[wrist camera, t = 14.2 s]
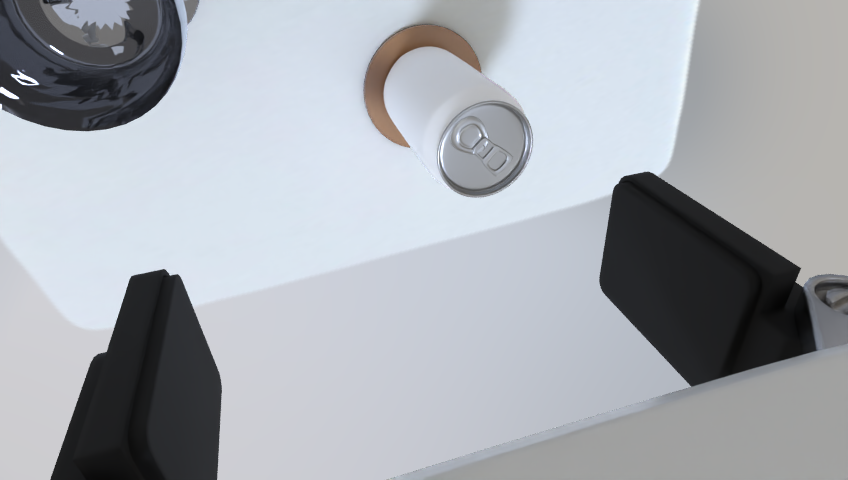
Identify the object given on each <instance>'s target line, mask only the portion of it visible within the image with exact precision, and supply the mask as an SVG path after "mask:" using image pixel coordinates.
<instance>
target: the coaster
mask: <svg viewBox="0 0 848 480" xmlns="http://www.w3.org/2000/svg"><path fill="white" fill-rule="evenodd" d="M429 46H430V47H438V48H442V49H444V50H447V51H448V52H450V53H452V54H453V55H455V56H457V57H458V58H460V59H461V60H463V61H464V62H466V63H467V64H469V65H470V66H472V67H473V68H474V69H476V70H477V71H479V72H480V73H481V68H480V64H479V61H478V59H477V57H476V54H475V52H474V51H473V49H472V48H471V46H470V45H469V44H468V43H467V42H466V41H465V40H464V39H463V38H462V37H461V36H459V35H458V34H456V33H455V32H453V31H451V30H449V29H447V28H444V27H441V26H437V25H417V26H412V27H409V28H406V29H404V30H402V31H400V32H398V33H396V34H394V35H393V36H391V37H390V38H389V39H388V40H387V41H385V42H384V43H383V44H382V45H381V47H380V48H379V49H378V50H377V52H376V53H375V55H374V56H373V58H372V60H371V62H370V64H369V66H368V69H367V72H366V76H365V81H364V100H365V105H366V109H367V112H368V114H369V116H370V118H371V120H372V122H373V123H374V125H375V126H376V128H377V129H378V130H379V131H380V132H381V133H382V134H383V135H384V136H385V137H386V138H388V139H389V140H391V141H392V142H394V143H396V144H399V145H401V146H405V147H409V148H411V147H410V146H409V144H408V143H407V141H406V140H405V139H404V137H403V136H402V134H401V133H400V131H399V130H398V128H397V127H396V126H395V124H394V123H393V121H392V120H391V118H390V116H389V114H388V112H387V110H386V107H385V103H384V85H385V81H386V78H387V76H388V74H389V72H390V70H391V68H392V67H393V65H394V64H395V62H396V61H397V60H398V59H399V58H400V57H401V56H402V55H404V54H405V53H407V52H409V51H411V50H414V49H416V48H420V47H429Z"/></svg>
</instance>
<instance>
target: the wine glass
mask: <svg viewBox="0 0 848 480" xmlns="http://www.w3.org/2000/svg"><path fill="white" fill-rule="evenodd" d="M198 3H199V0H0V108H1V109H2V110H5V111H7V112H9V113H11V114H13V115H15V116H17V117H20V118H22V119H24V120H27V121H30V122H34V123H37V124H40V125H43V126H47V127H52V128H57V129H63V130H73V131H93V130H103V129H109V128H113V127H116V126H120V125H124V124H126V123H129V122H131V121H133V120H135V119H137V118H139V117H141V116H143V115H144V114H145V113H147V112H148V111H149V110H151V109H152V108H153V107H155V106H156V105H157V104H158V102H159V101H160V100H161V99H162V98H163V97H164V96H165V95H166V93H167V92H168V91H169V89H170V87H171V85H172V84H173V82H174V80H175V78H176V77H177V74H178V72H179V70H180V67H181V64H182V61H183V58H184V54H185V49H186V42H187V33H188V27H187V25H188V24H189V22H190V21H191V20H192V18H193V16H194V14H195V13H196V10H197V7H198Z"/></svg>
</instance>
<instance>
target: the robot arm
mask: <svg viewBox="0 0 848 480" xmlns="http://www.w3.org/2000/svg"><path fill="white" fill-rule="evenodd" d="M800 269H801V268H800V267H798V266H796V265H795V264H793V263H792V262H790V261H789V260H787V259H785V258H784V257H782V256H781V255H779V254H778V253H776V252H775V251H773V250H772V249H770V248H768V247H767V246H765V245H764V244H762V243H761V242H759V241H758V240H756V239H754V238H753V237H751V236H750V235H748V234H746V233H745V232H743V231H742V230H740V229H739V228H737V227H736V226H734V225H733V224H731V223H729V222H728V221H726V220H725V219H723V218H721V217H720V216H718V215H717V214H715V213H714V212H712V211H711V210H709V209H707V208H706V207H704V206H703V205H701V204H700V203H698V202H697V201H695V200H693V199H692V198H690V197H689V196H687V195H686V194H684V193H683V192H681V191H679V190H678V189H676V188H675V187H673V186H672V185H670V184H668V183H667V182H665V181H664V180H662V179H661V178H659V177H658V176H656V175H654V174H653V173H650V172H643V173H638V174H633V175H628V176H624V177H623V178H621V180H620V181H619V184H617V185H616V186H615V187H614V190H613V195H612V201H611V208H610V214H609V220H608V227H607V233H606V240H605V246H604V252H603V259H602V265H601V272H600V286H601V289H602V291H603V293H604V294H605V295H606V296H607V297H608V298H609V299H610V301H611V302H612V303H613V304H614V305H615V306H616V307H617V308H618V309H619V310H620V311H621V312H622V313H623V314H624V315H625V316H626V318H628V320H629V321H630V322H631V323H632V324H633V325H634V326H635V327H636V328H637V329H638V330H639V331H640V332H641V333H642V335H643V336H644V337H645V338H646V339H647V340H648V341H649V342H650V343H651V344H652V345H653V346H654V347H655V348H656V349H657V350H658V351H659V353H660V354H661V355H662V356H663V357H664V358H665V359H666V360H667V361H668V362H669V363H670V364H671V365H672V366H673V367H674V369H675V370H676V371H677V372H678V373H679V374H680V375H681V376H682V377H683V378H684V379H685V380H686V381H687V382H688V383H689V384H690V386H691V387H689V388H686V389H683V390H679V391H676V392H672V393H669V394H666V395H662V396H659V397H656V398H652V399H649V400H646V401H643V402H639V403H636V404H632V405H629V406H626V407H623V408H619V409H616V410H612V411H609V412H606V413H603V414H599V415H596V416H593V417H590V418H586V419H583V420H579V421H576V422H573V423H569V424H566V425H563V426H560V427H556V428H553V429H550V430H546V431H543V432H540V433H537V434H533V435H530V436H527V437H523V438H520V439H517V440H514V441H511V442H507V443H504V444H501V445H498V446H494V447H491V448H487V449H484V450H481V451H478V452H474V453H471V454H468V455H465V456H462V457H458V458H455V459H452V460H449V461H446V462H442V463H439V464H436V465H432V466H429V467H426V468H423V469H420V470H416V471H413V472H410V473H407V474H403V475H400V476H397V477H394V478H391V479H387V480H848V276H844V275H834V274H825V275H818V276H815V277H812V278H809V280H808V281H807V282H806V283H805V284H804V287H802V286H800V285H799V284H797V283H796V282H795V281H796V279H797V277H798V274H799V272H800ZM221 393H222V386H221V379H220V375H219V371H218V369H217V366H216V364H215V361H214V359H213V356H212V354H211V351H210V349H209V347H208V344H207V341H206V339H205V336H204V334H203V331H202V329H201V326H200V324H199V322H198V319H197V317H196V314H195V312H194V309H193V307H192V304H191V302H190V299H189V297H188V294H187V292H186V289H185V287H184V284H183V282H182V279H181V277H180V276H179V275H178V274H176V275H171V276H170V275H169V273H168V272H167V271H166V270H164V269H163V270H158V271H153V272H148V273H143V274H138V275H134V276H131V278H130V280H129V284H128V287H127V290H126V293H125V296H124V299H123V302H122V306H121V309H120V312H119V315H118V318H117V321H116V324H115V328H114V331H113V334H112V337H111V340H110V343H109V347H108V350H107V352H105V353H101V354H98V355H97V356H95V357H94V358H93V360H92V362H91V364H90V367H89V370H88V373H87V375H86V378H85V381H84V384H83V387H82V390H81V393H80V395H79V398H78V401H77V404H76V407H75V410H74V413H73V416H72V419H71V421H70V424H69V427H68V430H67V433H66V436H65V439H64V442H63V445H62V448H61V450H60V453H59V456H58V459H57V462H56V465H55V468H54V471H53V474H52V476H51V480H217V471H218V451H219V431H220V413H221V412H220V411H221Z"/></svg>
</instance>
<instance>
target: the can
mask: <svg viewBox="0 0 848 480" xmlns="http://www.w3.org/2000/svg"><path fill="white" fill-rule="evenodd" d="M384 103H385V107H386V110H387V112H388V114H389V116H390V118H391V120H392V121H393V123H394V124H395V126H396V127H397V128H398V130H399V131H400V133H401V134H402V136H403V137H404V139H405V140H406V141H407V143H408V144H409V146H410V147H411V149H412V150H413V151H414V153H415V154H416V156H417V157H418V158H419V160H420V161H421V163H422V164H423V165H424V167H425V168H426V169H427V171H428V172H429V173H430V175H431V176H432V177H433V178H434V179H435V180H436V181H437V182H439V183H440V184H441V185H443V186H444V187H446V188H449V189H451V190H453V191H455V192H457V193H459V194H461V195H464V196H467V197H486V196H490V195H493V194H496V193H498V192H500V191H502V190H504V189H505V188H507V187H508V186H510V185H511V184H512V183H513V182H514V181H515V180H516V179H517V178H518V177H519V176H520V175H521V173H522V172H523V170H524V169H525V167H526V165H527V163H528V161H529V158H530V156H531V152H532V146H533V135H532V130H531V126H530V124H529V121H528V120H527V118H526V116H525V114H524V111H523V109H522V107H521V106H520V104H519V103H518V101H517V100H516V99H515V98H514V97H513V96H512V95H511V94H510V93H509V92H507V91H506V90H505V89H503V88H502V87H501V86H499V85H498V84H496V83H495V82H493V81H492V80H491V79H489V78H488V77H486V76H485V75H483V74H482V73H480V72H479V71H477V70H476V69H474V68H473V67H472V66H470V65H469V64H467V63H466V62H464V61H463V60H461V59H460V58H458V57H457V56H455V55H453V54H452V53H450V52H448V51H447V50H444V49H442V48H438V47H430V46H429V47H420V48H416V49H414V50H411V51H409V52H407V53H405V54H404V55H402V56H401V57H400V58H399V59H398V60H397V61H396V62H395V64H394V65H393V67H392V68H391V70H390V72H389V74H388V76H387V78H386V81H385V85H384Z"/></svg>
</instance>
